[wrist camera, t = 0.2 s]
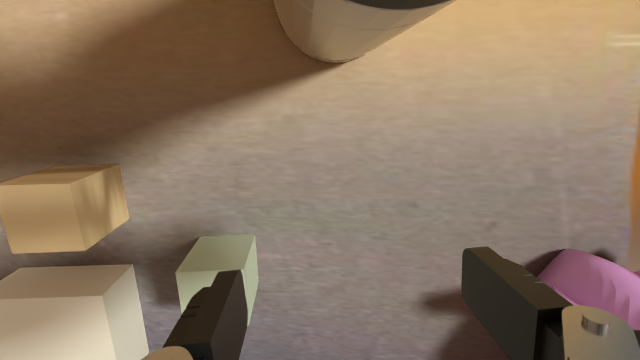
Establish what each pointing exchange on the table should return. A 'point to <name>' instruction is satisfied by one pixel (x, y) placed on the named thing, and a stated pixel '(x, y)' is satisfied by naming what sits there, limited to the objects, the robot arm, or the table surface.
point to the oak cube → (62, 208)
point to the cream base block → (71, 314)
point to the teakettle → (595, 284)
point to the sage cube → (218, 266)
